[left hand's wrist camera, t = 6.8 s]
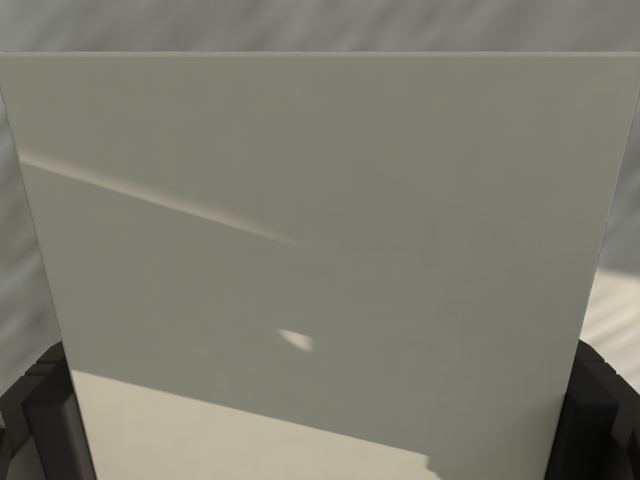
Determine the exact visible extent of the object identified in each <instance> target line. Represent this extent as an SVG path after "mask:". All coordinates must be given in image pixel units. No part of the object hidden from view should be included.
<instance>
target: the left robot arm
mask: <svg viewBox="0 0 640 480" xmlns="http://www.w3.org/2000/svg"><path fill="white" fill-rule="evenodd" d="M0 480H96V477H95V473H94V469H93V465H92V461H91V457H90V453H89V449H88V445H87V441H86V437H85V432H84V428H83V424H82V420H81V416H80V412H79V408H78V404H77V400H76V396H75V392H74V388H73V384H72V380H71V375H70V371H69V367H68V363H67V359H66V355H65V351H64V347H63V343H62V341H60V342H58V343H57V344H55V345H53V346H51V347H50V348H49V349H48V350H47V351H46V352H45V353H44V354H43V355H42V356H41V357H40V358H39V359H38V360H37V361H36V364H33V365H32V366H31V367H30V368H29V369H28V370H27V371H26V372H25V375H24V376H21V377H20V378H19V379H18V380H17V381H16V382H15V383H14V384H13V385H12V386H11V387H10V388H9V389H8V390H7V391H6V392H5V393H4V394H3V395H2V396H1V397H0ZM544 480H640V395H639V394H638V393H637V392H636V391H635V390H634V389H633V388H632V387H631V386H630V385H629V384H628V383H627V382H626V381H625V380H624V379H623V378H622V377H621V376H620V375H619V374H616V371H615V370H614V369H613V368H612V367H611V366H610V365H609V364H608V363H605V361H604V359H603V358H602V357H601V356H600V355H599V354H598V353H597V352H596V351H595V350H594V349H593V348H592V347H591V346H590V345H588V344H587V343H585V342H583V341H582V340H580V339H579V341H578V345H577V349H576V353H575V357H574V361H573V365H572V369H571V373H570V377H569V381H568V385H567V389H566V394H565V398H564V402H563V406H562V410H561V414H560V418H559V422H558V426H557V430H556V434H555V438H554V442H553V446H552V450H551V454H550V459H549V463H548V467H547V471H546V475H545V479H544Z"/></svg>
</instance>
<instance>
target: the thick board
mask: <svg viewBox="0 0 640 480" xmlns="http://www.w3.org/2000/svg"><path fill="white" fill-rule="evenodd" d="M0 91H1V95H2V99H3V103H4V107H5V111H6V115H7V119H8V123H9V127H10V131H11V135H12V139H13V143H14V148H15V152H16V156H17V160H18V164H19V168H20V172H21V176H22V180H23V184H24V188H25V192H26V196H27V200H28V204H29V209H30V213H31V217H32V221H33V225H34V229H35V233H36V237H37V241H38V245H39V249H40V253H41V257H42V261H43V266H44V270H45V274H46V278H47V282H48V286H49V290H50V294H51V298H52V302H53V306H54V310H55V314H56V318H57V323H58V327H59V331H60V335H61V339H62V343H63V347H64V351H65V355H66V359H67V363H68V367H69V371H70V375H71V380H72V384H73V388H74V392H75V396H76V400H77V404H78V408H79V412H80V416H81V420H82V424H83V428H84V432H85V437H86V441H87V445H88V449H89V453H90V457H91V461H92V465H93V469H94V473H95V477H96V480H544V479H545V475H546V471H547V467H548V463H549V459H550V454H551V450H552V446H553V442H554V438H555V434H556V430H557V426H558V422H559V418H560V414H561V410H562V406H563V402H564V398H565V394H566V389H567V385H568V381H569V377H570V373H571V369H572V365H573V361H574V357H575V353H576V349H577V345H578V341H579V337H580V333H581V329H582V324H583V320H584V316H585V312H586V308H587V304H588V300H589V296H590V292H591V288H592V284H593V280H594V276H595V272H596V268H597V264H598V259H599V255H600V251H601V247H602V243H603V239H604V235H605V231H606V227H607V223H608V219H609V215H610V211H611V207H612V203H613V199H614V195H615V190H616V186H617V182H618V178H619V174H620V170H621V166H622V162H623V158H624V154H625V150H626V146H627V142H628V138H629V134H630V130H631V125H632V121H633V117H634V113H635V109H636V105H637V101H638V97H639V93H640V51H0Z"/></svg>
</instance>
